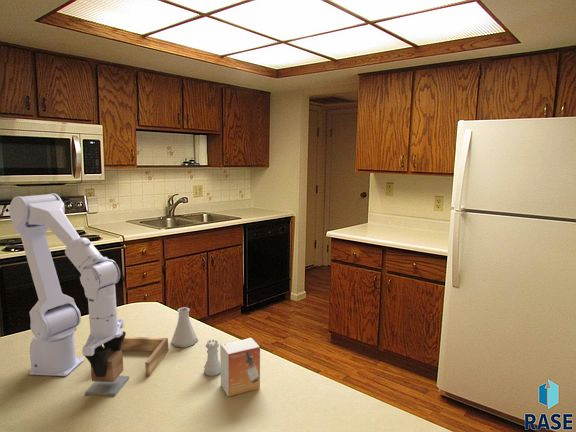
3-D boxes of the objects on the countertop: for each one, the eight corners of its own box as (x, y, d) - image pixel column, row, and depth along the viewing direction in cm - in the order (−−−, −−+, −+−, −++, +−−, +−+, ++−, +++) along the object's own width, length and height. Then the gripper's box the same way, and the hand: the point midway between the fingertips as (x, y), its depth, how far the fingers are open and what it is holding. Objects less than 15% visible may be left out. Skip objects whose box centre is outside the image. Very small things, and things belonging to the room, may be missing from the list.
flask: (202, 340, 117) (201, 308, 116) (184, 350, 111) (183, 316, 110) (185, 334, 121) (184, 302, 119) (166, 343, 115) (164, 310, 113)
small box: (228, 398, 90) (227, 354, 88) (220, 385, 95) (219, 343, 93) (260, 388, 94) (260, 346, 92) (251, 376, 99) (251, 336, 97)
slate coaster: (85, 394, 91) (85, 391, 91) (101, 377, 98) (101, 374, 98) (115, 395, 90) (115, 393, 90) (129, 378, 97) (129, 376, 97)
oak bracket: (94, 373, 99) (93, 360, 99) (119, 348, 112) (118, 336, 111) (149, 375, 98) (149, 362, 98) (168, 349, 111) (167, 338, 111)
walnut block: (91, 381, 91) (90, 360, 90) (103, 369, 96) (101, 350, 95) (113, 382, 91) (111, 361, 90) (123, 370, 96) (122, 350, 95)
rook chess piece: (218, 377, 98) (217, 347, 97) (201, 375, 99) (200, 345, 98) (224, 368, 102) (224, 338, 101) (208, 366, 103) (207, 336, 102)
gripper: (103, 328, 84) (108, 388, 86) (134, 302, 98) (137, 354, 100) (71, 327, 84) (76, 386, 86) (106, 301, 98) (109, 353, 101)
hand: (106, 369), depth 93 cm, fingers closed on walnut block, 5 cm apart
